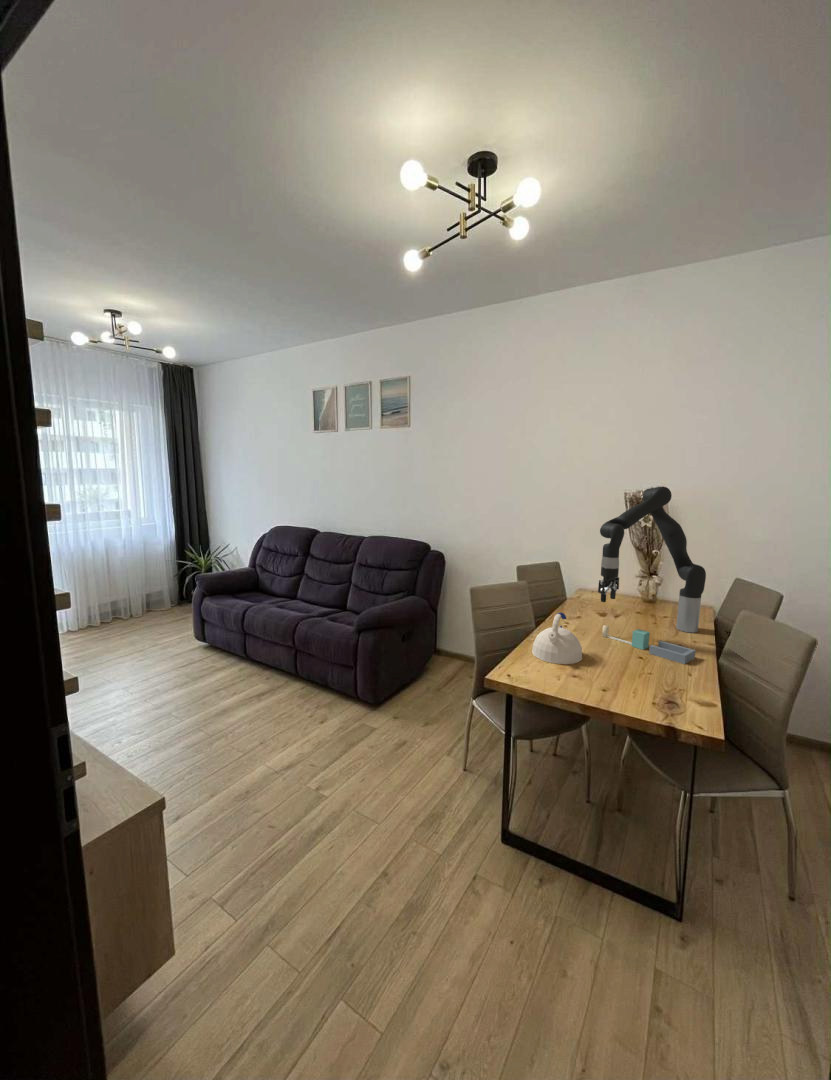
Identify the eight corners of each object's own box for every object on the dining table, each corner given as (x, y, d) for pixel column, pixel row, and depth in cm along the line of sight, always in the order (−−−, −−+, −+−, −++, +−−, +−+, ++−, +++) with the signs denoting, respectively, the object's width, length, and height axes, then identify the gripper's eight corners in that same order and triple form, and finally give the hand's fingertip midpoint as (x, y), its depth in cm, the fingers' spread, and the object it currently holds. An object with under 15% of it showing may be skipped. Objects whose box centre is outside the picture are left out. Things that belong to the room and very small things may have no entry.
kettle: (525, 658, 185) (527, 615, 182) (539, 642, 202) (541, 604, 200) (576, 669, 174) (578, 624, 172) (586, 652, 192) (589, 611, 189)
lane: (659, 648, 197) (660, 640, 196) (694, 658, 186) (695, 650, 185) (648, 653, 190) (649, 645, 190) (684, 664, 180) (685, 655, 179)
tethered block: (605, 634, 214) (606, 620, 213) (648, 647, 198) (649, 632, 197) (599, 636, 211) (600, 622, 210) (642, 649, 195) (644, 634, 194)
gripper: (610, 563, 214) (608, 596, 216) (594, 566, 205) (592, 601, 207) (625, 565, 208) (623, 599, 210) (609, 569, 199) (607, 604, 201)
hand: (607, 600), depth 209 cm, fingers open, 8 cm apart
